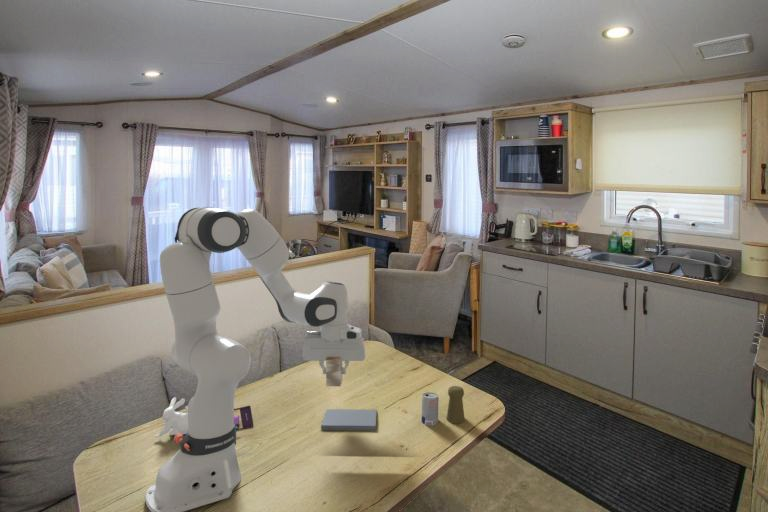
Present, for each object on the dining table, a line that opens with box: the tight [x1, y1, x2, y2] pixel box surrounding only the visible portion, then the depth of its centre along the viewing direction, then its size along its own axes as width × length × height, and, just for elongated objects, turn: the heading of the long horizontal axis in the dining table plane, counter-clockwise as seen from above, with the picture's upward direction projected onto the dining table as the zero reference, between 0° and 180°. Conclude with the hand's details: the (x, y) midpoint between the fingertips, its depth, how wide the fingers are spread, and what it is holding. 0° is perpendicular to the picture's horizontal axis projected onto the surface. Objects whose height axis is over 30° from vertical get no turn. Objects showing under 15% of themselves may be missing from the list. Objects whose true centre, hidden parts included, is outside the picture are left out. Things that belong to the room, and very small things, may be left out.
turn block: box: [325, 357, 343, 387], centre depth 137 cm, size 4×6×9 cm
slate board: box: [320, 408, 378, 431], centre depth 138 cm, size 17×12×2 cm
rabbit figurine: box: [154, 396, 188, 438], centre depth 132 cm, size 12×8×10 cm, turn 98°
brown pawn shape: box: [446, 385, 466, 425], centre depth 139 cm, size 6×6×11 cm
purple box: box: [234, 405, 254, 431], centre depth 135 cm, size 7×5×9 cm
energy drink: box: [421, 391, 440, 427], centre depth 138 cm, size 5×5×12 cm
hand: (334, 373), depth 137 cm, fingers closed on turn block, 4 cm apart
